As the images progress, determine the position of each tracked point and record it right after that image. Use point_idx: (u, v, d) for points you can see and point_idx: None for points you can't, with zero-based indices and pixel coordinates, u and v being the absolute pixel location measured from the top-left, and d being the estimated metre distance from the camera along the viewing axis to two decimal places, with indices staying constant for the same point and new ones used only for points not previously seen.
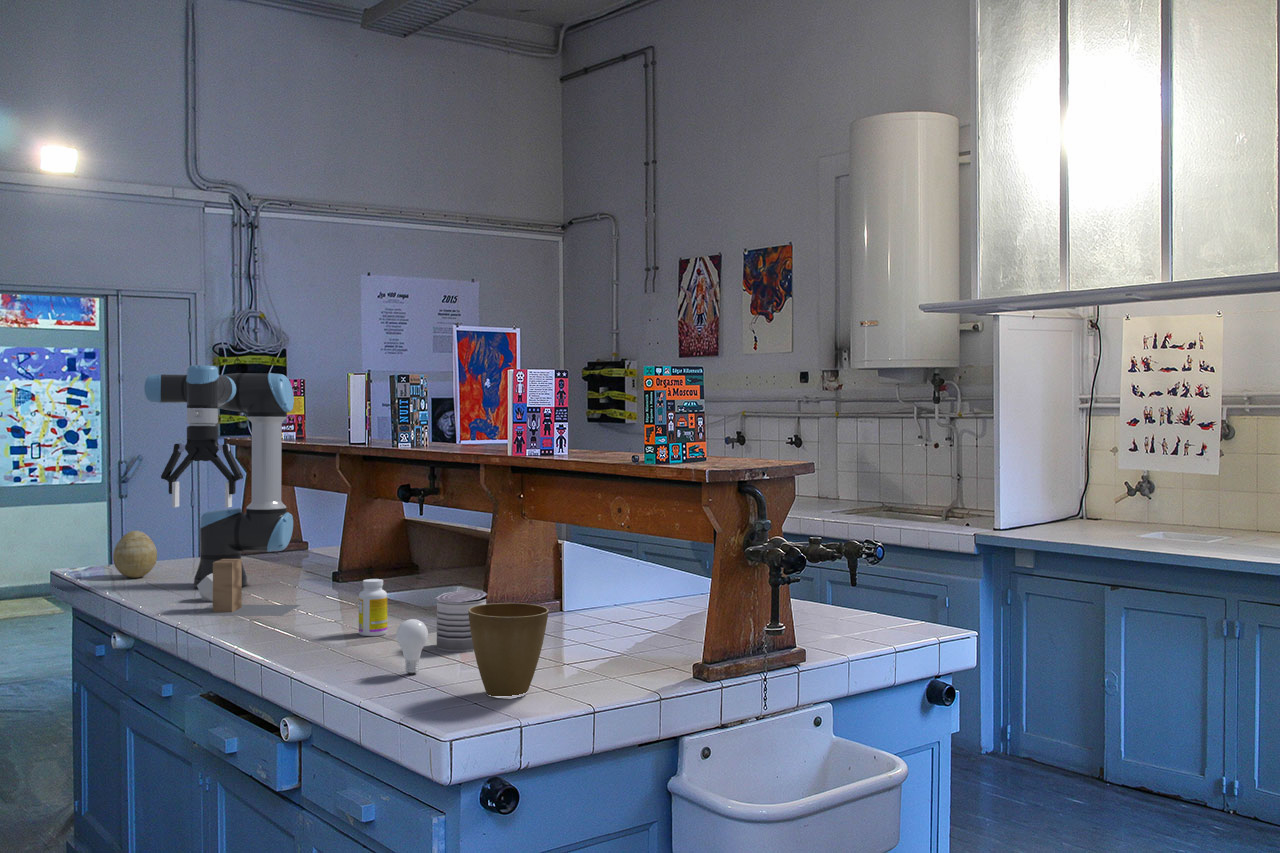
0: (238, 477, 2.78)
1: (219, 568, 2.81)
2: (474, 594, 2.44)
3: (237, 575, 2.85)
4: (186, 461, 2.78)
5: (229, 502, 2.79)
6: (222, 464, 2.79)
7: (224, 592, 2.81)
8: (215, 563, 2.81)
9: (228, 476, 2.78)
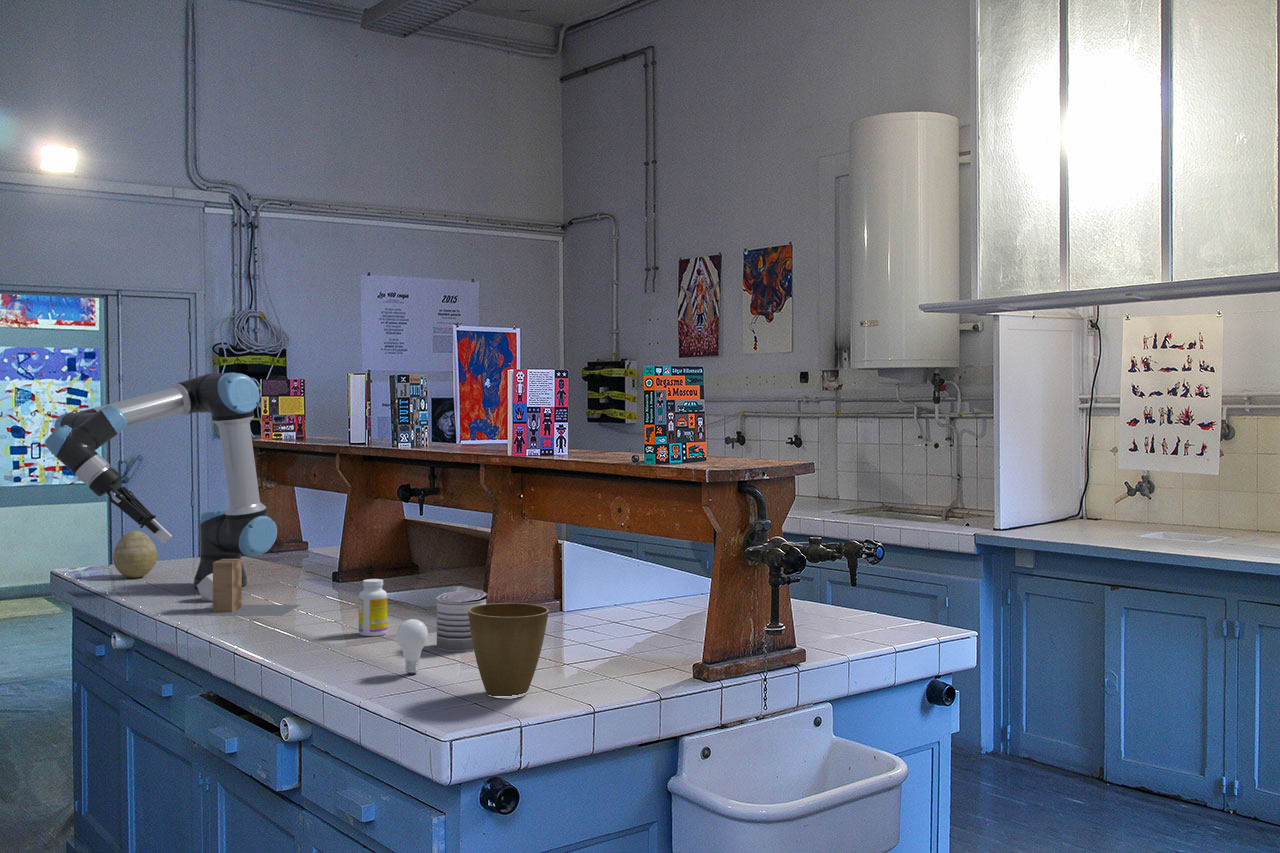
0: (139, 524, 2.77)
1: (219, 568, 2.81)
2: (474, 594, 2.44)
3: (237, 575, 2.85)
4: None
5: (162, 538, 2.81)
6: None
7: (224, 592, 2.81)
8: (215, 563, 2.81)
9: None
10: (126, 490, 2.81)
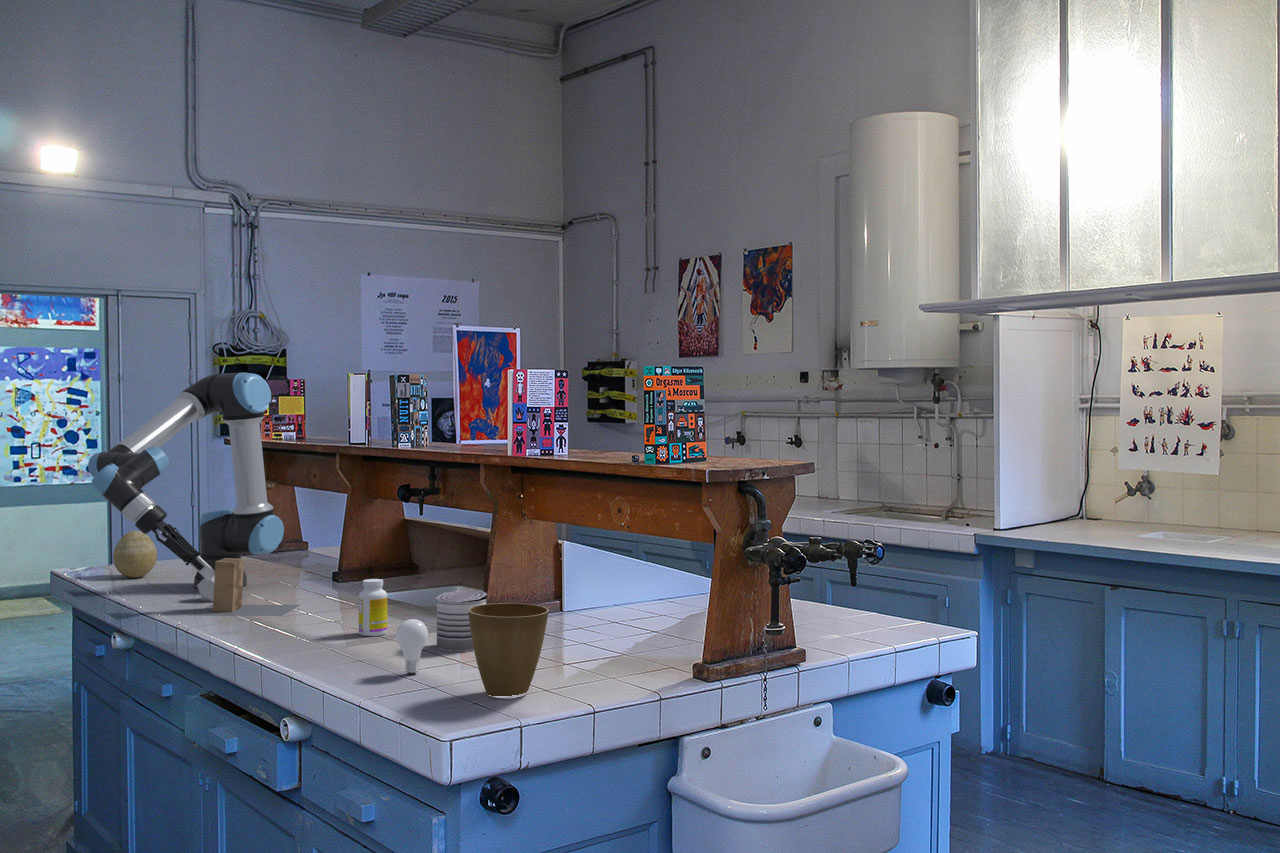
0: None
1: (222, 568, 2.81)
2: (474, 594, 2.44)
3: (239, 575, 2.85)
4: None
5: (207, 575, 2.83)
6: None
7: (225, 592, 2.81)
8: (217, 562, 2.81)
9: None
10: (171, 527, 2.83)
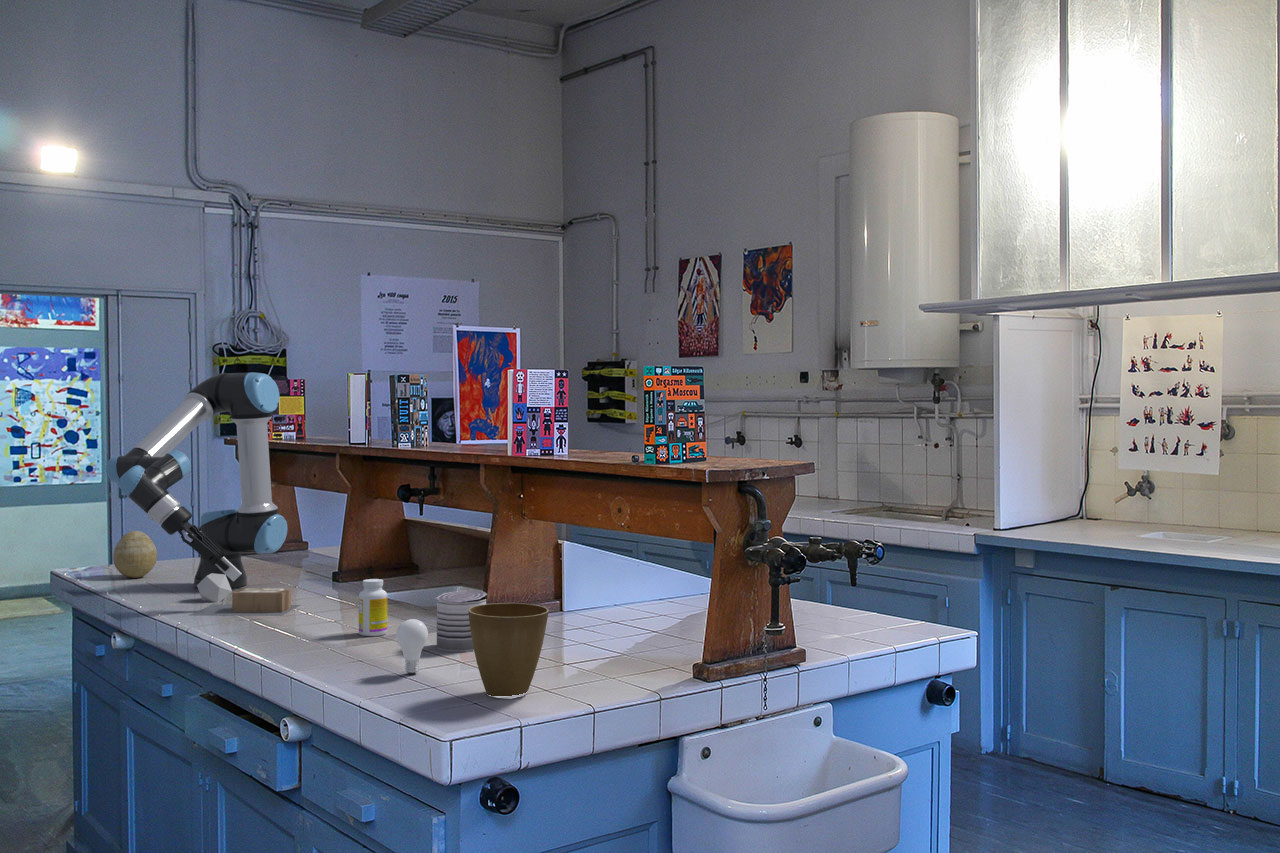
0: (210, 562, 2.81)
1: (276, 600, 2.82)
2: (474, 594, 2.44)
3: None
4: None
5: (232, 575, 2.84)
6: None
7: (252, 605, 2.81)
8: (281, 595, 2.82)
9: None
10: (197, 528, 2.84)
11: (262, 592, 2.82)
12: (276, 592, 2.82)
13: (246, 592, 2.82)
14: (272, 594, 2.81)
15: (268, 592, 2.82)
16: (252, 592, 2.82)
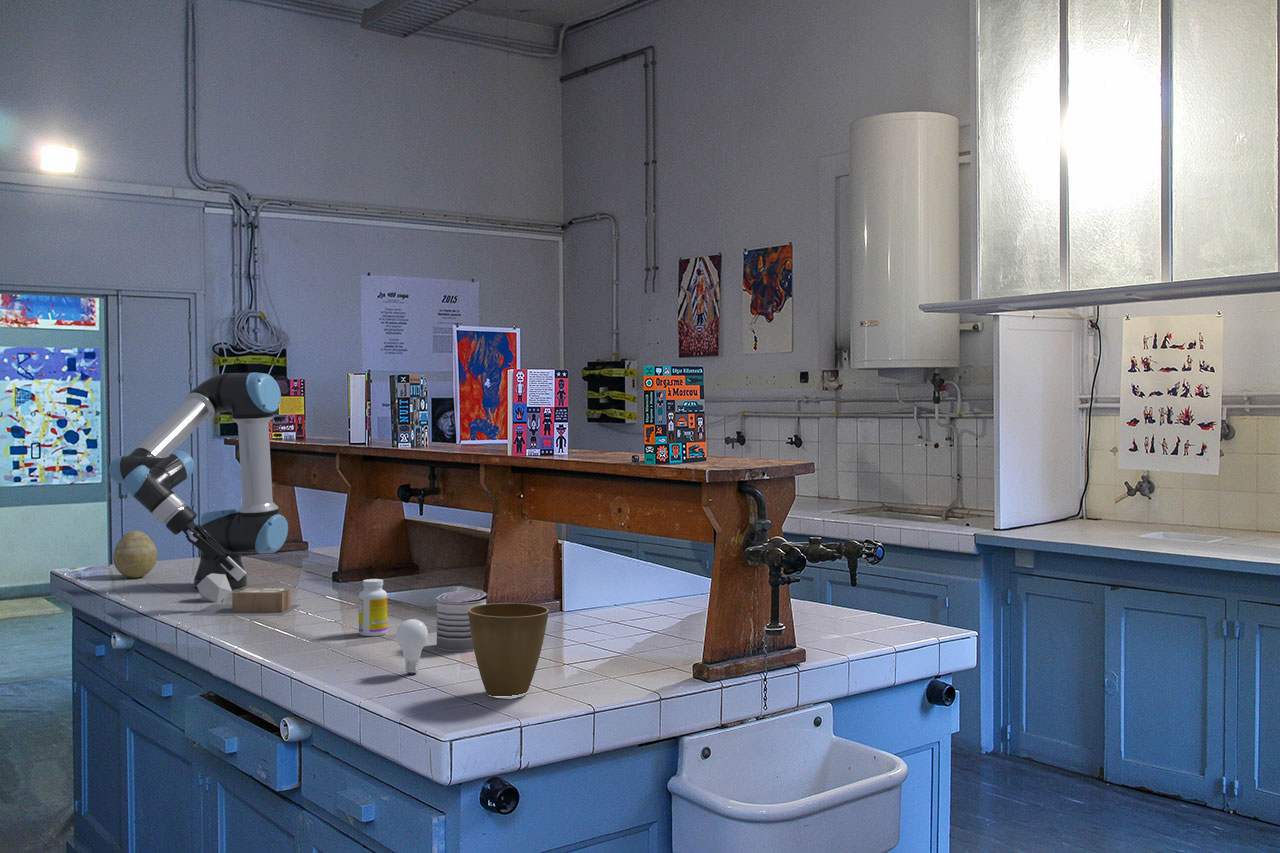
0: (215, 562, 2.81)
1: (276, 600, 2.82)
2: (474, 594, 2.44)
3: None
4: None
5: (237, 575, 2.85)
6: None
7: (252, 605, 2.81)
8: (281, 595, 2.82)
9: None
10: (201, 528, 2.84)
11: (262, 592, 2.82)
12: (276, 592, 2.82)
13: (246, 592, 2.82)
14: (272, 594, 2.81)
15: (268, 592, 2.82)
16: (252, 592, 2.82)
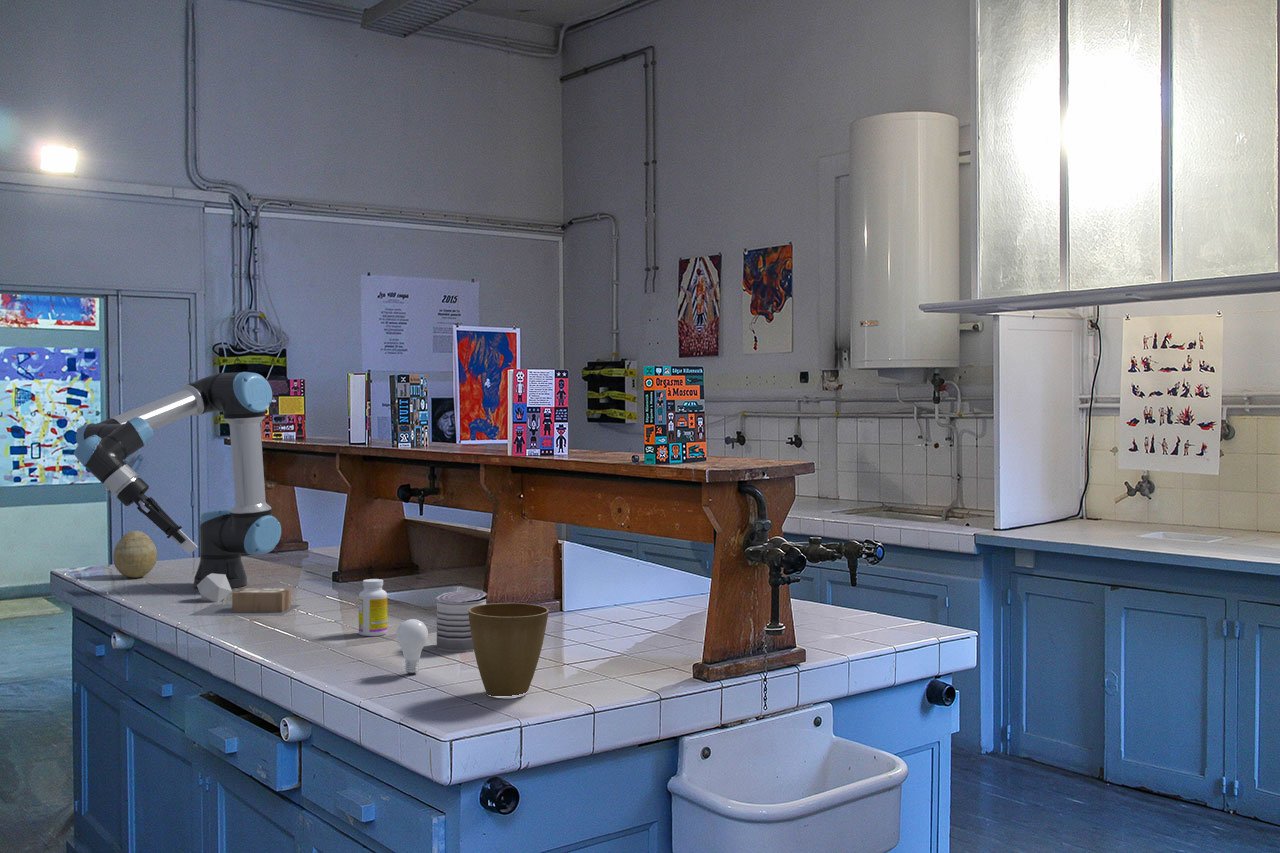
0: (166, 534, 2.79)
1: (276, 600, 2.82)
2: (474, 594, 2.44)
3: None
4: None
5: (188, 548, 2.83)
6: None
7: (252, 605, 2.81)
8: (281, 595, 2.82)
9: None
10: (153, 500, 2.82)
11: (262, 592, 2.82)
12: (276, 592, 2.82)
13: (246, 592, 2.82)
14: (272, 594, 2.81)
15: (268, 592, 2.82)
16: (252, 592, 2.82)
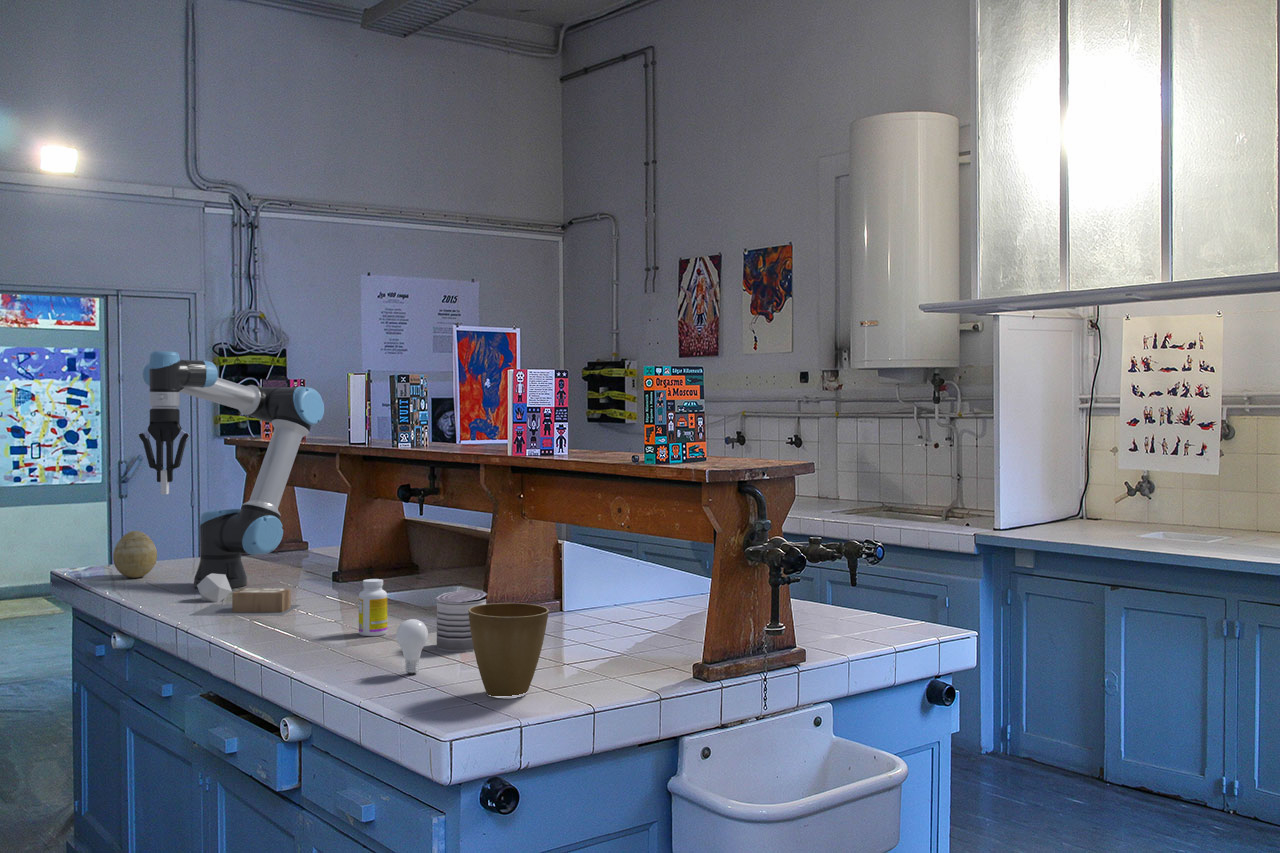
0: (176, 466, 2.94)
1: (276, 600, 2.82)
2: (474, 594, 2.44)
3: None
4: (159, 445, 2.93)
5: (167, 489, 2.95)
6: (172, 451, 2.95)
7: (252, 605, 2.81)
8: (281, 595, 2.82)
9: (169, 464, 2.94)
10: None
11: (262, 592, 2.82)
12: (276, 592, 2.82)
13: (246, 592, 2.82)
14: (272, 594, 2.81)
15: (268, 592, 2.82)
16: (252, 592, 2.82)
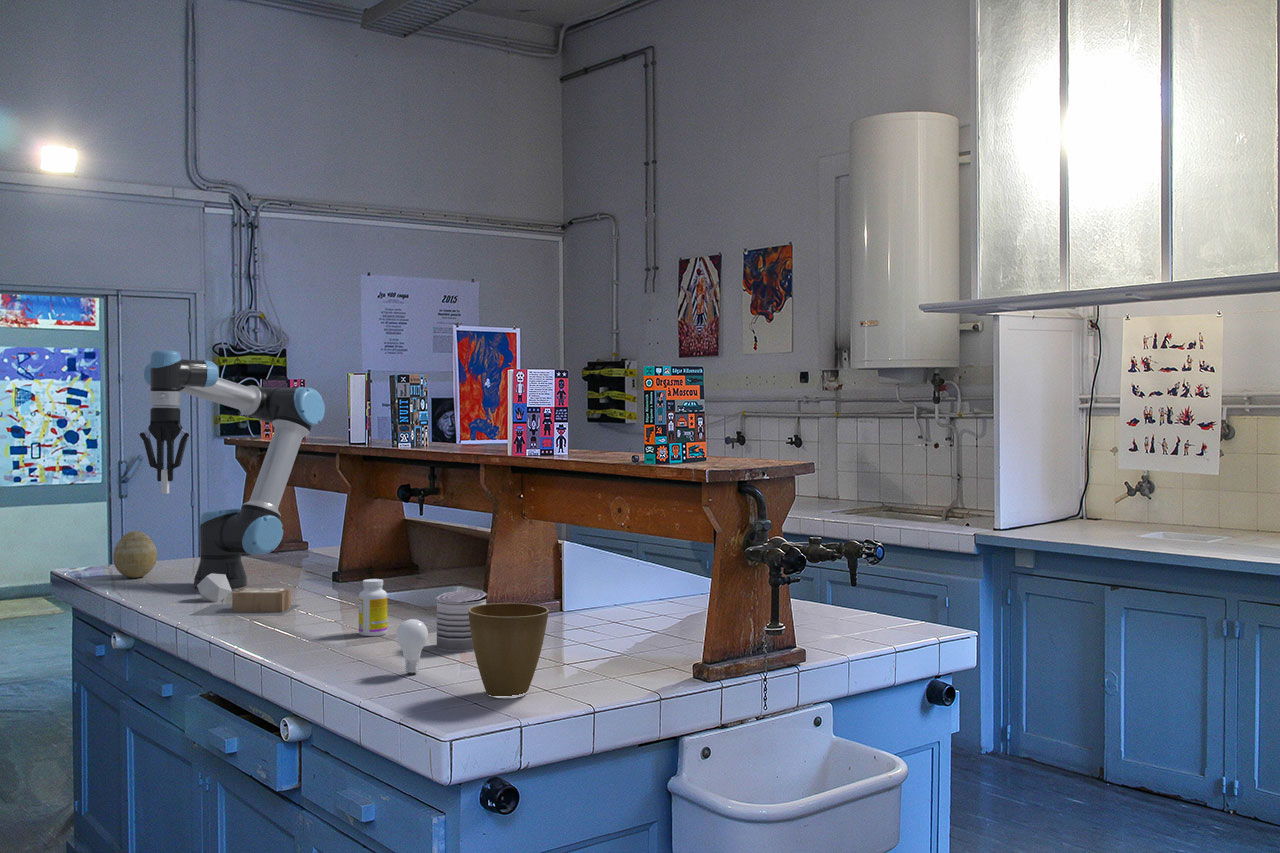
0: (176, 465, 2.95)
1: (276, 600, 2.82)
2: (474, 594, 2.44)
3: None
4: (159, 444, 2.94)
5: (167, 488, 2.95)
6: (172, 450, 2.95)
7: (252, 605, 2.81)
8: (281, 595, 2.82)
9: (169, 463, 2.94)
10: None
11: (262, 592, 2.82)
12: (276, 592, 2.82)
13: (246, 592, 2.82)
14: (272, 594, 2.81)
15: (268, 592, 2.82)
16: (252, 592, 2.82)
